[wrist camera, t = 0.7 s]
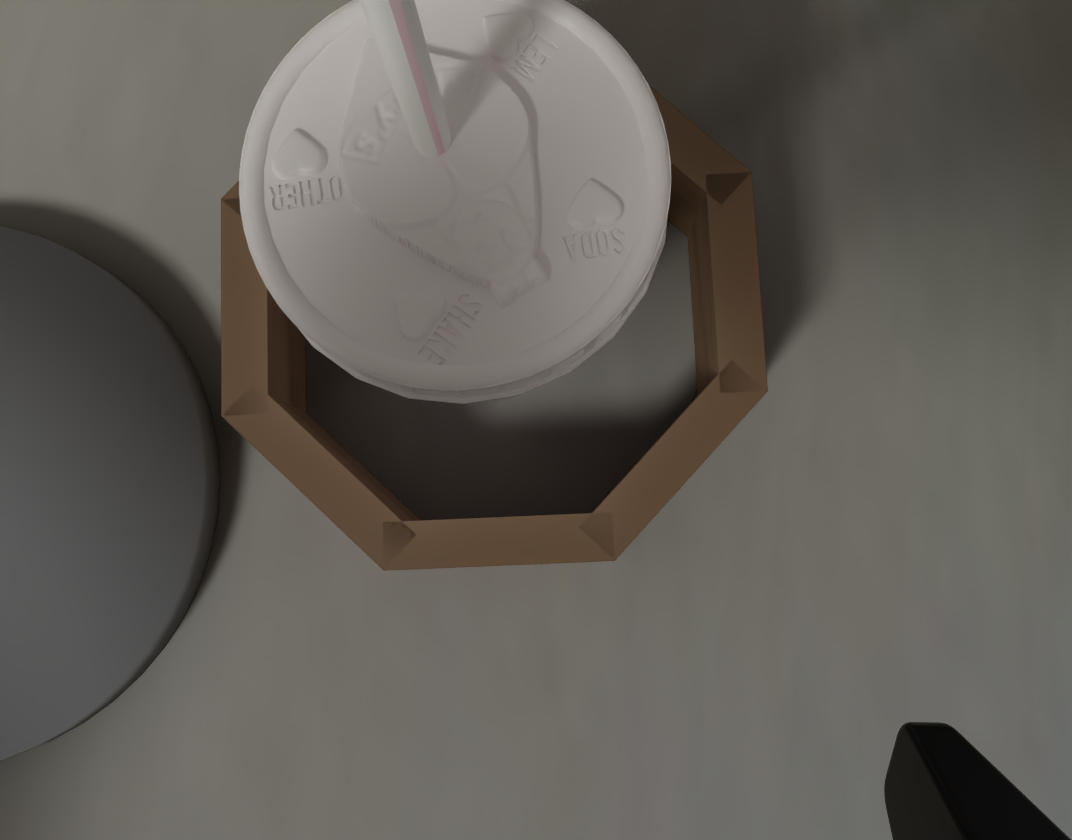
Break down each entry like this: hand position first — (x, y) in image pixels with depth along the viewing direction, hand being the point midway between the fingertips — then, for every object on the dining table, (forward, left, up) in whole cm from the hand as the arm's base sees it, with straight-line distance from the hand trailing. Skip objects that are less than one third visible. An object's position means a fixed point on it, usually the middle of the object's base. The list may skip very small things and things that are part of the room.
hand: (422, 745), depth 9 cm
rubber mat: (-7, +12, -13) cm, 19 cm away
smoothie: (+5, +5, -14) cm, 15 cm away
